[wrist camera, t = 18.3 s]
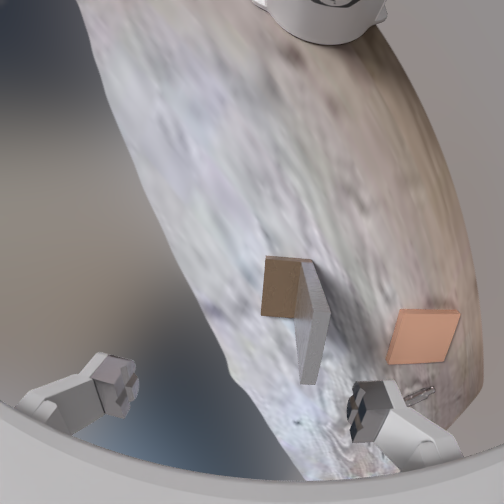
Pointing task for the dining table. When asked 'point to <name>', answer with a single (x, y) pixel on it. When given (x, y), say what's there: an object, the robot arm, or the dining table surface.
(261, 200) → the dining table surface
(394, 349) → the tile
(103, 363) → the robot arm
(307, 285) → the bookend
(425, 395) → the micrometer
